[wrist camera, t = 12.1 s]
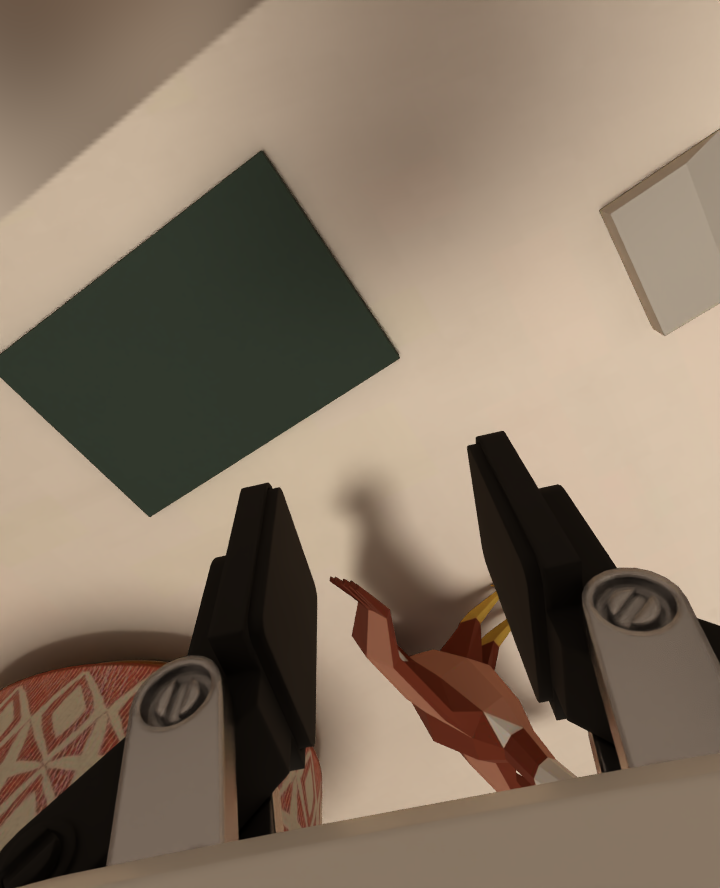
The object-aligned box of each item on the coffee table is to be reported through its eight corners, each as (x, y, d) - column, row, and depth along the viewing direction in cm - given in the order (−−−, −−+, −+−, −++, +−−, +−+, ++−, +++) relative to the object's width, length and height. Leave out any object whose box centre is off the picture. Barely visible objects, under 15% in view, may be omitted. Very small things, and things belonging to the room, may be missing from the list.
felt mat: (-8, 360, 31) (-14, 364, 30) (262, 150, 26) (261, 150, 26) (151, 512, 36) (149, 517, 35) (398, 354, 32) (400, 358, 31)
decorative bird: (704, 699, 42) (747, 966, 31) (476, 706, 52) (449, 910, 41) (541, 406, 30) (519, 678, 19) (285, 490, 40) (175, 698, 29)
